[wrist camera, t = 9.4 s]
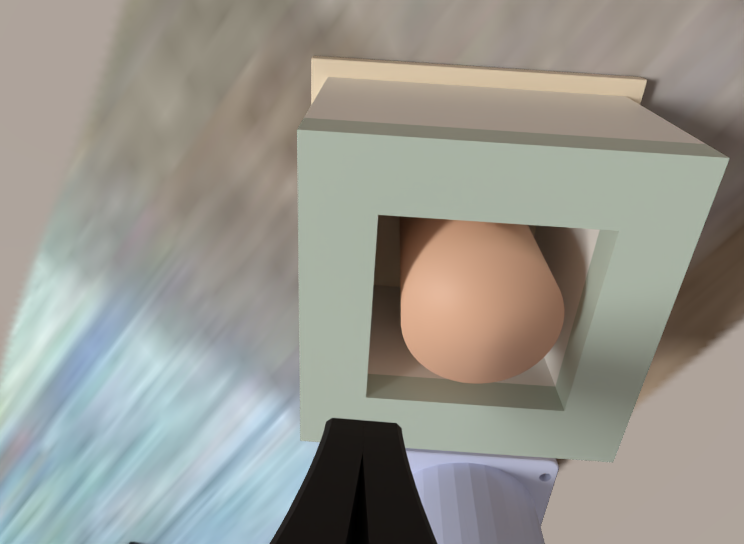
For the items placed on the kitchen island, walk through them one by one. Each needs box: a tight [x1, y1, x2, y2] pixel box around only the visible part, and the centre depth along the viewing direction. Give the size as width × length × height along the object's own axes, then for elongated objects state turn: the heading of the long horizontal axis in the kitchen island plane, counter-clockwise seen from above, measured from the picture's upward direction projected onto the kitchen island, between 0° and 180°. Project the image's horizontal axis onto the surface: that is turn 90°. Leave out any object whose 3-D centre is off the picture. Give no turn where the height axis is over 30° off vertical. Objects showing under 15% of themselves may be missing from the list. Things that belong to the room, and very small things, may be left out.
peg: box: [400, 216, 564, 384], centre depth 16 cm, size 4×4×6 cm
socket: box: [297, 56, 730, 462], centre depth 17 cm, size 10×10×6 cm
